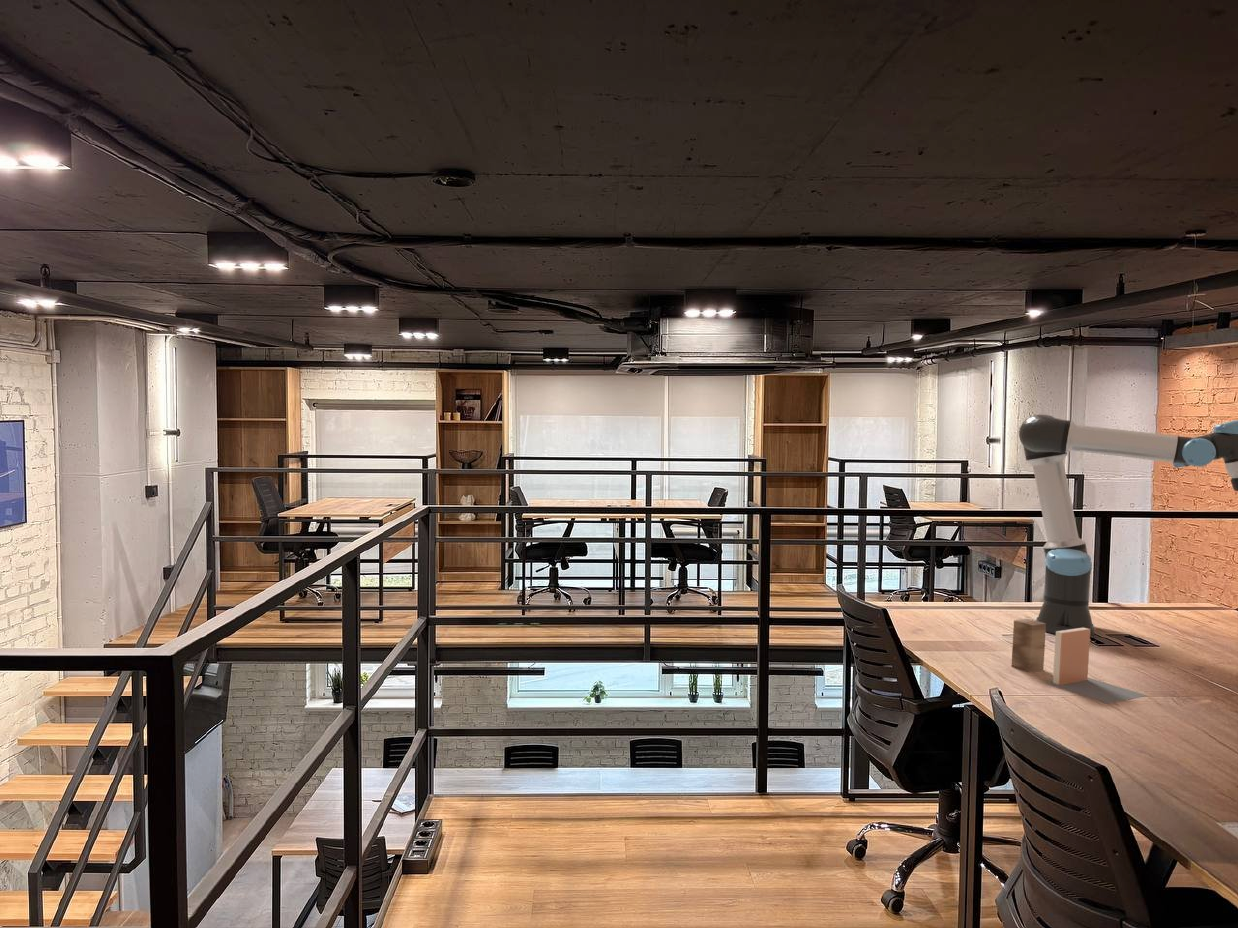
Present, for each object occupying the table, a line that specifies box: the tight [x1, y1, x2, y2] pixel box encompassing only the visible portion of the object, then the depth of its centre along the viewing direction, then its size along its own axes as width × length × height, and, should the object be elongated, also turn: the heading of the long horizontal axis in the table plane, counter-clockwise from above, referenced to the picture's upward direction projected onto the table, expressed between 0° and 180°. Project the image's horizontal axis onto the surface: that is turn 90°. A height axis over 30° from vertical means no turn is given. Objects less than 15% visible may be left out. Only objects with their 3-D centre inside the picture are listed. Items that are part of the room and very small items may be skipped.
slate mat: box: [1044, 677, 1148, 705], centre depth 185 cm, size 15×14×1 cm
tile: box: [1052, 628, 1091, 685], centre depth 190 cm, size 2×10×12 cm, turn 117°
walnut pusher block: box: [1011, 618, 1047, 673], centre depth 200 cm, size 5×5×12 cm
